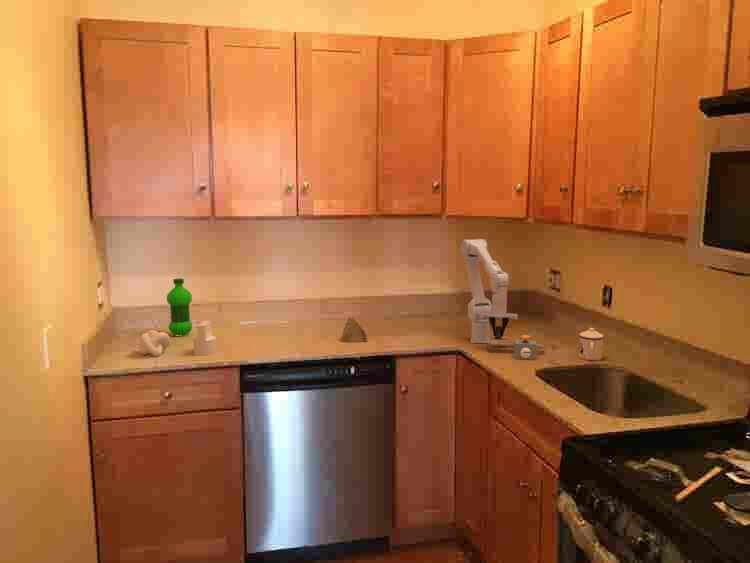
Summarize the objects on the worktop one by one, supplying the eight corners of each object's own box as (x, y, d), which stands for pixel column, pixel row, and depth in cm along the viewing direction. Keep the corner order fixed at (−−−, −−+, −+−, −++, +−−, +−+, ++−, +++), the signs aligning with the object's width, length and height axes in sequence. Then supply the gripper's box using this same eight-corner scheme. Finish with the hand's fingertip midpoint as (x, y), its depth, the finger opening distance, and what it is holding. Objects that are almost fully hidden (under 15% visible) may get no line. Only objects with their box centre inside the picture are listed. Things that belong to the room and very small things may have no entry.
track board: (487, 346, 260) (487, 342, 260) (542, 348, 257) (542, 345, 256) (487, 352, 251) (488, 348, 251) (544, 354, 248) (544, 350, 248)
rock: (373, 334, 271) (354, 328, 276) (368, 321, 265) (349, 315, 270) (360, 353, 265) (341, 346, 270) (355, 340, 259) (336, 334, 264)
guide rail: (489, 345, 256) (489, 342, 256) (541, 347, 253) (542, 344, 253) (489, 346, 255) (489, 343, 254) (542, 348, 251) (542, 345, 251)
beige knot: (129, 355, 245) (128, 333, 243) (153, 348, 255) (152, 327, 254) (150, 359, 240) (149, 336, 238) (174, 352, 250) (173, 330, 249)
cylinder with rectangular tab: (213, 355, 245) (212, 325, 243) (190, 355, 245) (189, 325, 243) (219, 349, 254) (218, 320, 252) (197, 349, 254) (196, 320, 252)
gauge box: (513, 354, 248) (514, 339, 247) (534, 355, 247) (535, 340, 246) (514, 359, 241) (515, 344, 240) (536, 360, 240) (536, 344, 239)
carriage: (490, 343, 258) (490, 324, 257) (505, 343, 257) (505, 325, 256) (490, 346, 252) (491, 328, 251) (505, 347, 251) (506, 328, 250)
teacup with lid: (577, 353, 250) (579, 324, 248) (602, 355, 247) (603, 326, 245) (578, 361, 238) (579, 331, 237) (603, 363, 236) (605, 333, 234)
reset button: (520, 340, 245) (520, 334, 245) (529, 341, 245) (529, 335, 244) (520, 343, 242) (521, 336, 241) (530, 343, 241) (530, 337, 241)
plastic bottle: (168, 333, 281) (165, 278, 277) (193, 331, 285) (190, 277, 281) (168, 338, 272) (165, 281, 268) (193, 336, 275) (191, 280, 271)
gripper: (481, 304, 249) (480, 337, 251) (518, 305, 247) (517, 339, 249) (481, 301, 256) (480, 333, 258) (517, 302, 254) (516, 334, 256)
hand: (498, 336), depth 254 cm, fingers closed on carriage, 2 cm apart
